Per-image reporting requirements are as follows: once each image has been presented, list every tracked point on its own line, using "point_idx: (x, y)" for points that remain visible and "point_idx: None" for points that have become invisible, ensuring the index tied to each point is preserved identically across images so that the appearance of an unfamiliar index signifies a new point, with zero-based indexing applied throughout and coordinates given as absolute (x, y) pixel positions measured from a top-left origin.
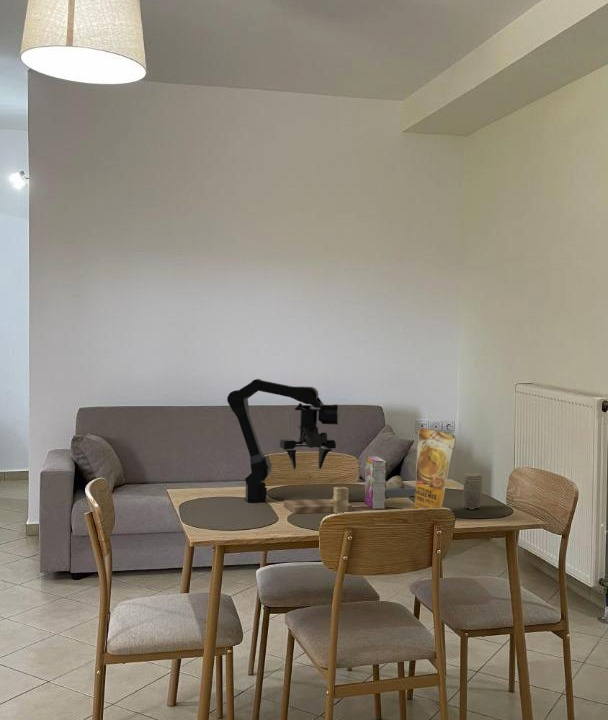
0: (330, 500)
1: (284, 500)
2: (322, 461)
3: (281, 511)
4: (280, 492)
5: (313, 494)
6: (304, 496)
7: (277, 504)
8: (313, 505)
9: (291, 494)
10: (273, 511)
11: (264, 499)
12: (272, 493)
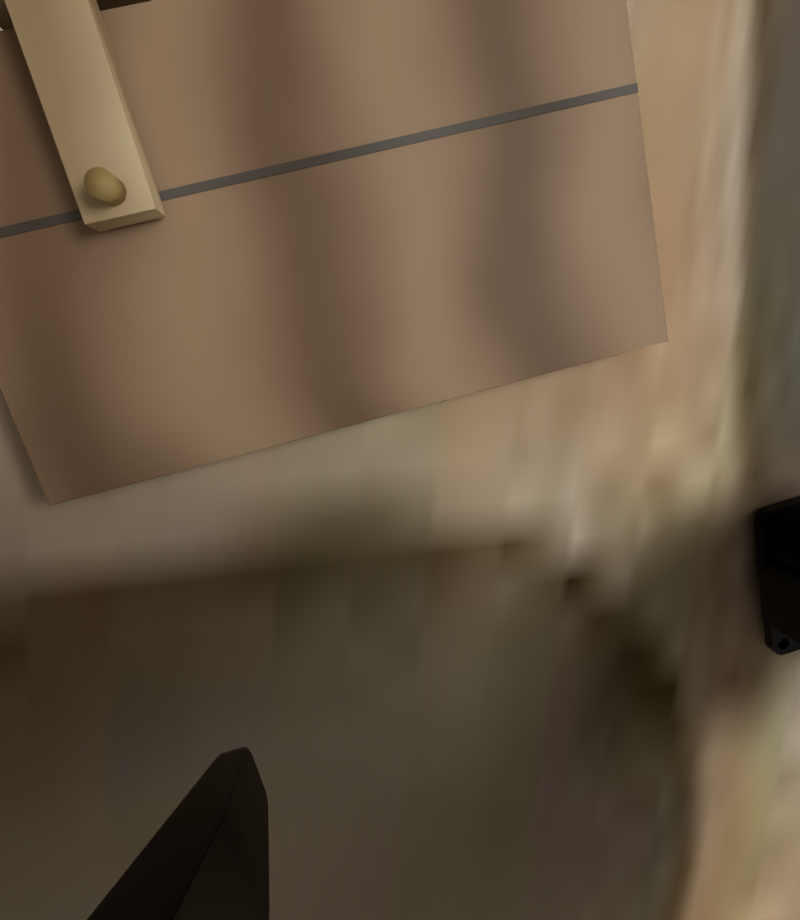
0: (157, 203)
1: (662, 341)
2: (126, 910)
3: (690, 88)
4: (578, 916)
5: (314, 895)
6: (400, 802)
7: (674, 430)
8: (384, 44)
9: (501, 860)
10: (762, 87)
11: (774, 549)
12: (644, 868)
